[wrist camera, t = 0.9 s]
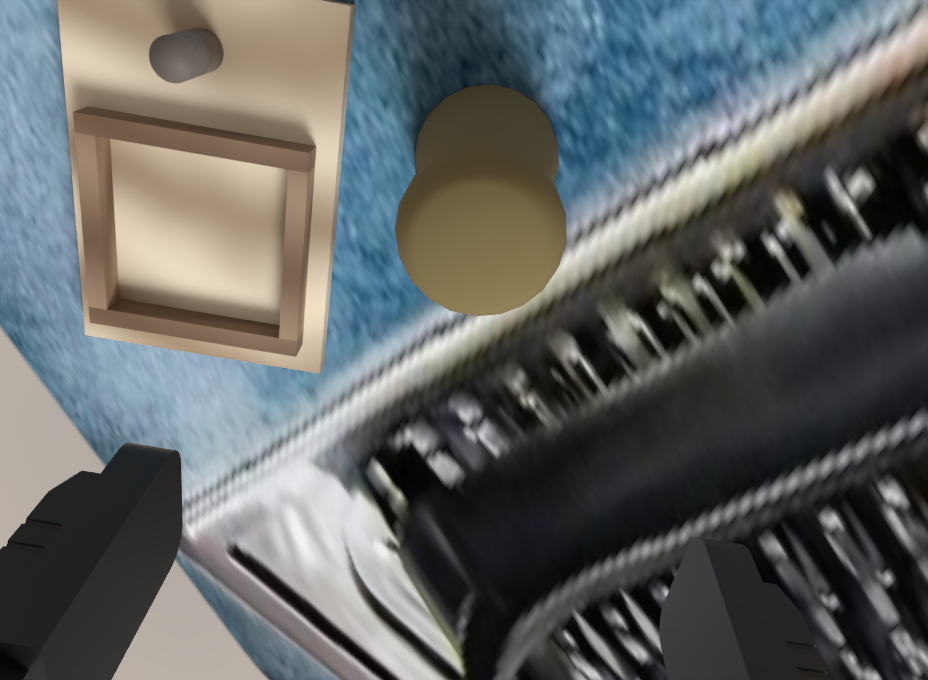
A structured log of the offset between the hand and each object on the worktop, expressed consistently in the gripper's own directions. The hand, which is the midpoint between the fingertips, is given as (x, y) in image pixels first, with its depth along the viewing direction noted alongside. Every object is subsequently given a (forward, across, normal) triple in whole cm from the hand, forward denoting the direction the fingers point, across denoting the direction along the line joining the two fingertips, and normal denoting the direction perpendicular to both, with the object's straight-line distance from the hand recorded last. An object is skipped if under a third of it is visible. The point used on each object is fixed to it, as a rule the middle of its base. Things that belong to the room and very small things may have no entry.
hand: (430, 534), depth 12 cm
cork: (+22, 0, 0) cm, 22 cm away
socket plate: (+22, +11, +3) cm, 25 cm away
